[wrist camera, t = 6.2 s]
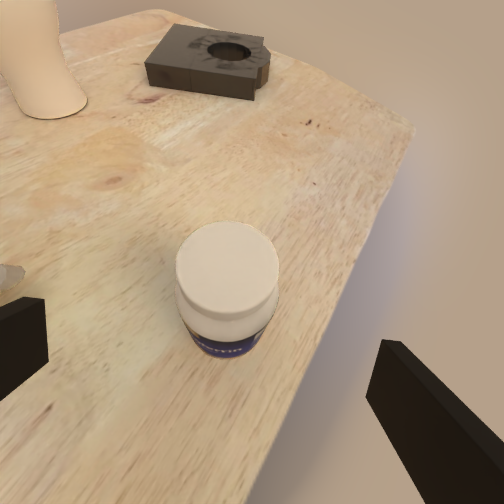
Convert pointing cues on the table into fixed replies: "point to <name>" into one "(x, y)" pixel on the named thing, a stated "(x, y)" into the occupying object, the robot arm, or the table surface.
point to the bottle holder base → (209, 62)
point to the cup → (37, 60)
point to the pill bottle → (226, 287)
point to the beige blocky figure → (10, 276)
